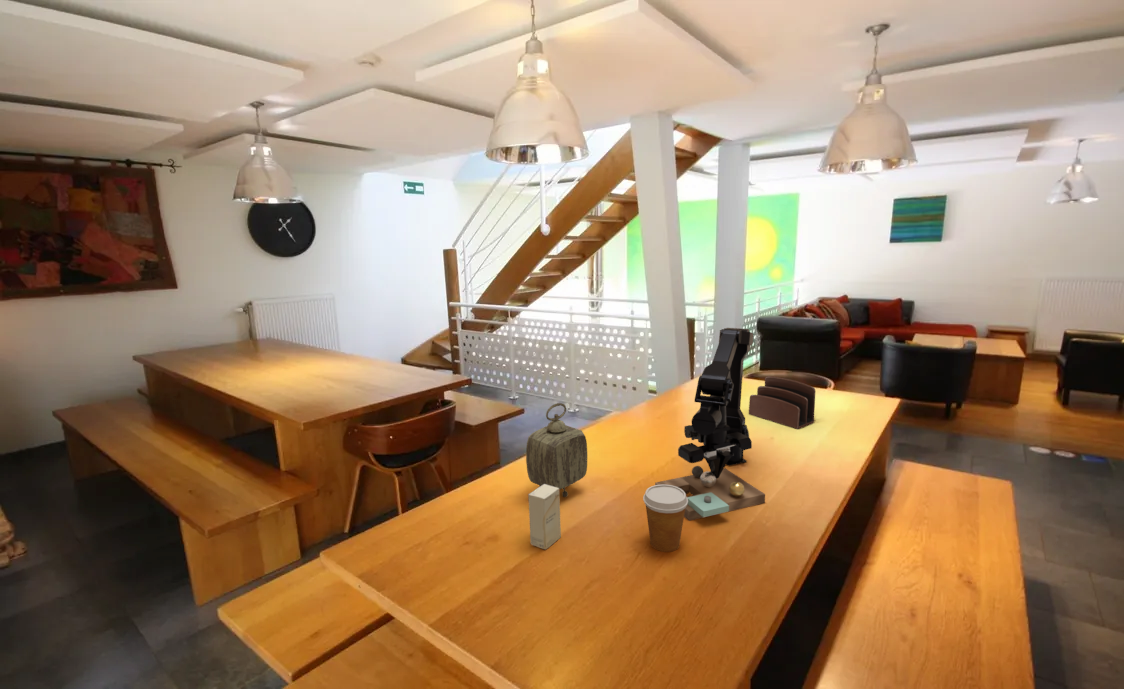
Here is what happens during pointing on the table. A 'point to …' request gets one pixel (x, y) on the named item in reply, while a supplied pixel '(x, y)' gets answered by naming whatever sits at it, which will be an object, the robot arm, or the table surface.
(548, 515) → the skincare box
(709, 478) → the steel ball
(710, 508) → the cover
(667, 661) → the table surface
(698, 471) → the matte grey ball
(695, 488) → the board
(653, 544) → the disposable coffee cup
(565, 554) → the table surface
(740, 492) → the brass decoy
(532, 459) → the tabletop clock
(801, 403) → the letter holder
